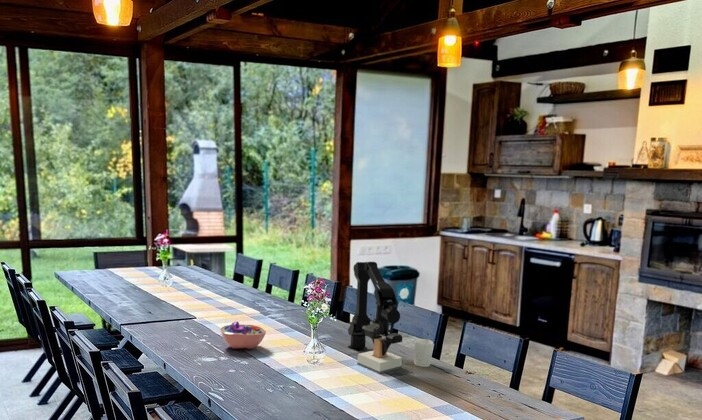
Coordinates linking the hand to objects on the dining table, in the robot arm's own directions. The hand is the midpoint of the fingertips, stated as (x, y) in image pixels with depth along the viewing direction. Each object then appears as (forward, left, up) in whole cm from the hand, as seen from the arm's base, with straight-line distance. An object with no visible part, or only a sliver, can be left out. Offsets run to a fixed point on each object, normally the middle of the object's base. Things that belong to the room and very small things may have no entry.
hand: (380, 354), depth 228 cm
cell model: (-49, -36, -6) cm, 61 cm away
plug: (0, 0, -2) cm, 2 cm away
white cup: (+8, +18, -5) cm, 20 cm away
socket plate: (0, 0, -5) cm, 5 cm away
